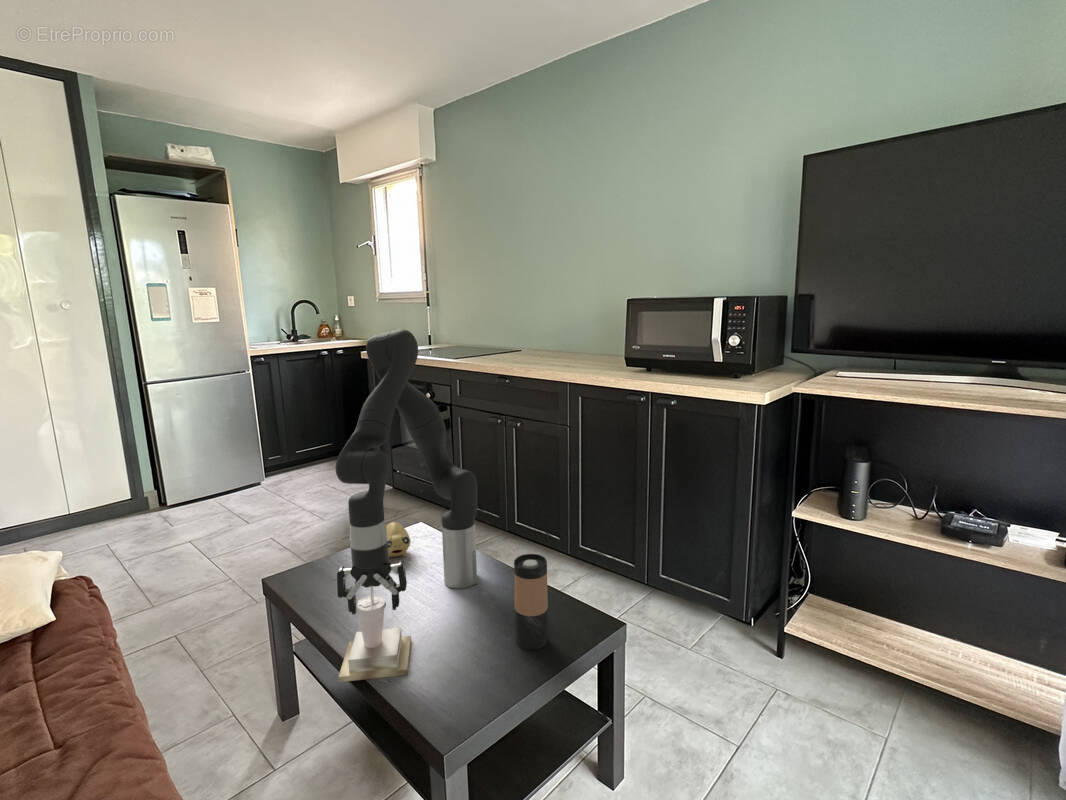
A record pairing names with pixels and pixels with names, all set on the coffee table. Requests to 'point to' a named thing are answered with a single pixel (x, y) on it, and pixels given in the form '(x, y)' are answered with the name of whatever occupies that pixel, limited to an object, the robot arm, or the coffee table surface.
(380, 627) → the smoothie
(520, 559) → the travel mug
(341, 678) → the base
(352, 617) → the coffee table surface
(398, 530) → the yellow toy creature
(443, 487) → the robot arm
